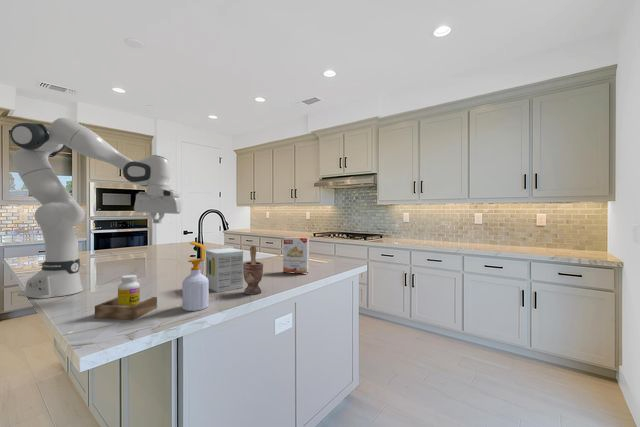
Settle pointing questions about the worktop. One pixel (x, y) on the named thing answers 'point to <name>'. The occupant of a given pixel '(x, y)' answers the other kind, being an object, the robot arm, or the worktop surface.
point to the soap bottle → (195, 286)
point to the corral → (124, 309)
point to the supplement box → (224, 269)
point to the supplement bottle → (128, 291)
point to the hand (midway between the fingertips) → (157, 223)
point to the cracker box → (296, 254)
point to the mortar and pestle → (252, 273)
